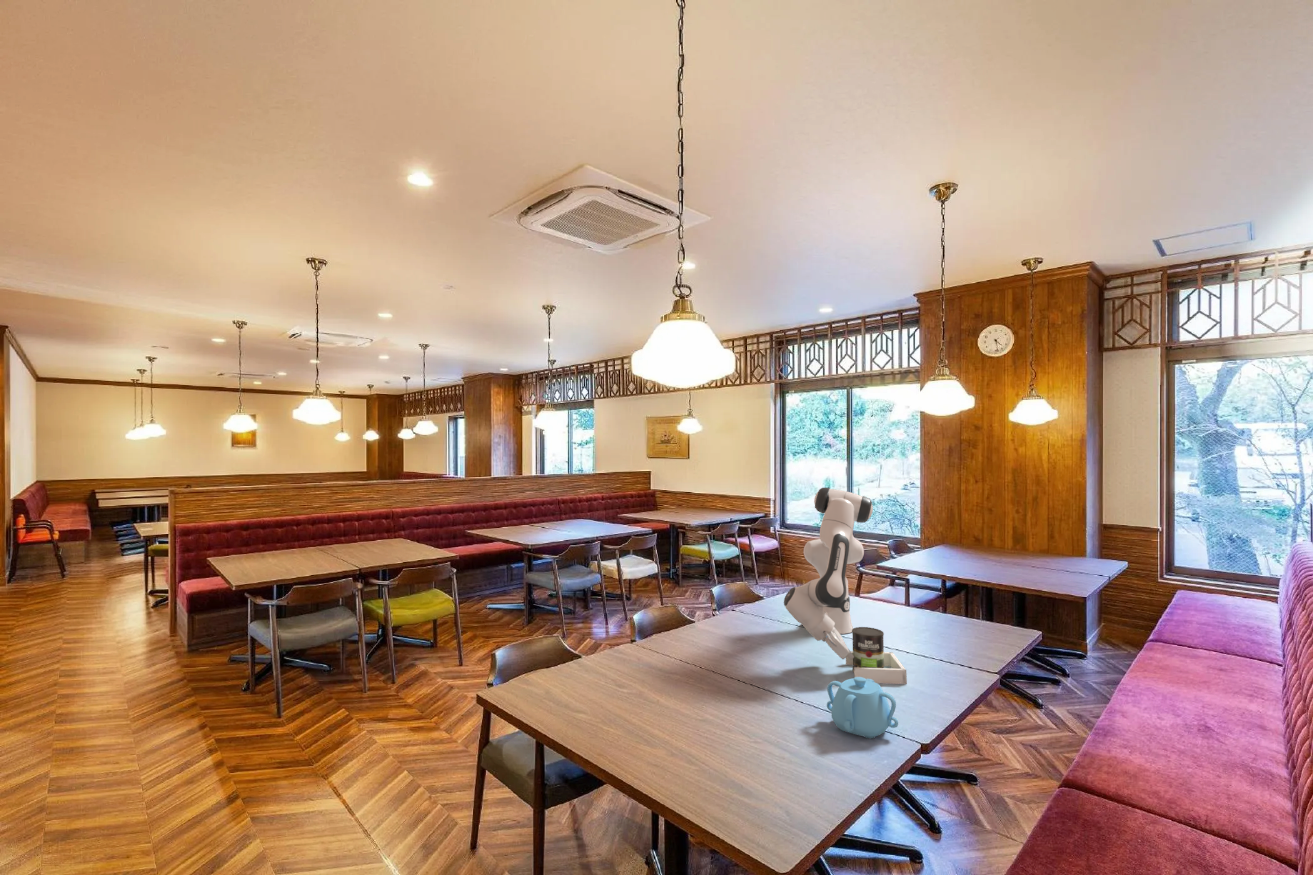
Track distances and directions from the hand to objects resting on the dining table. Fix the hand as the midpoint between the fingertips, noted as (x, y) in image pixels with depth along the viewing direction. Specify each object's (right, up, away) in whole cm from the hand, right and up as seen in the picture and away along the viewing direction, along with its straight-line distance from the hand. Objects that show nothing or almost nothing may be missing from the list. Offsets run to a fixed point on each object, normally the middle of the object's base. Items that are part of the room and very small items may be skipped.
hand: (852, 657), depth 197 cm
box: (+7, -5, -1) cm, 9 cm away
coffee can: (+5, -5, 0) cm, 8 cm away
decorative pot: (-11, -4, -41) cm, 42 cm away
